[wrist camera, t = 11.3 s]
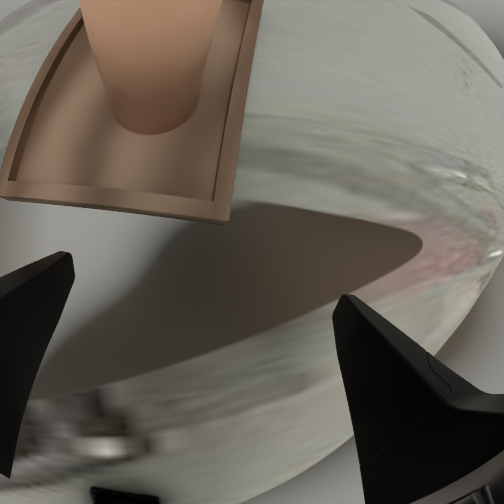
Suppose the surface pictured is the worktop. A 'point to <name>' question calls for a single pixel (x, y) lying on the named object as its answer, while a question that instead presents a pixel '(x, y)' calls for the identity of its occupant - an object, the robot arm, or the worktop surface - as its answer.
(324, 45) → the worktop surface
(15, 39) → the worktop surface
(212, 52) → the walnut tray
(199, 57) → the peach tapered cylinder
